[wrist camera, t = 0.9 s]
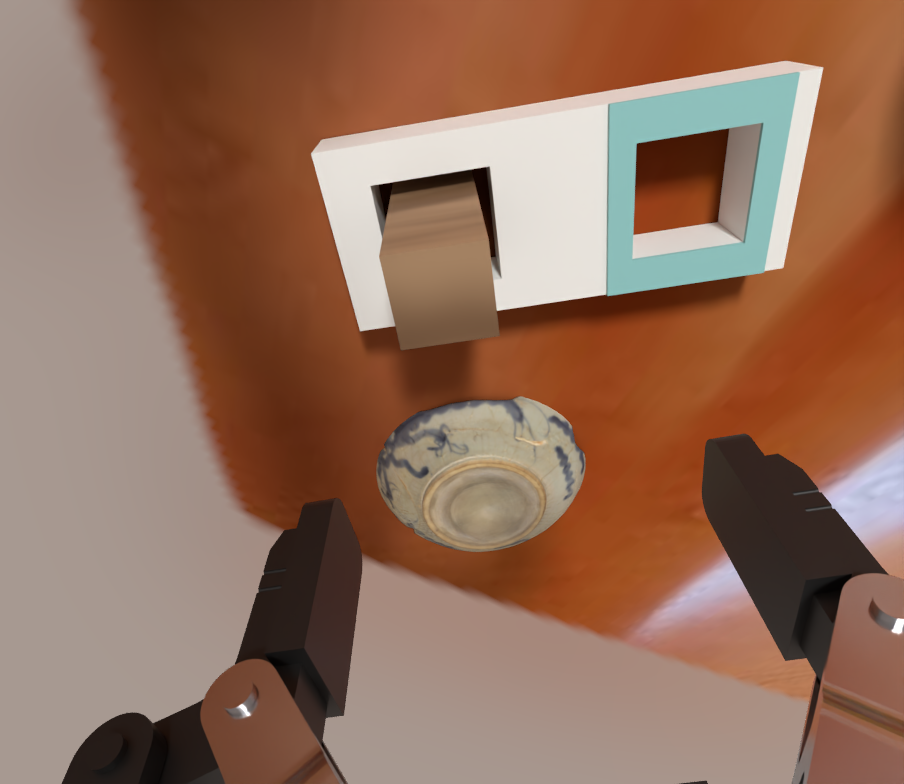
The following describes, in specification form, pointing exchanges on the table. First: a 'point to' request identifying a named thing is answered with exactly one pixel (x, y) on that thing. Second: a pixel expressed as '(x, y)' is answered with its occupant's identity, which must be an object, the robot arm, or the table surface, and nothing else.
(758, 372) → the table surface
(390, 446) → the decorative bowl
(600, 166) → the socket rail
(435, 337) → the walnut peg
